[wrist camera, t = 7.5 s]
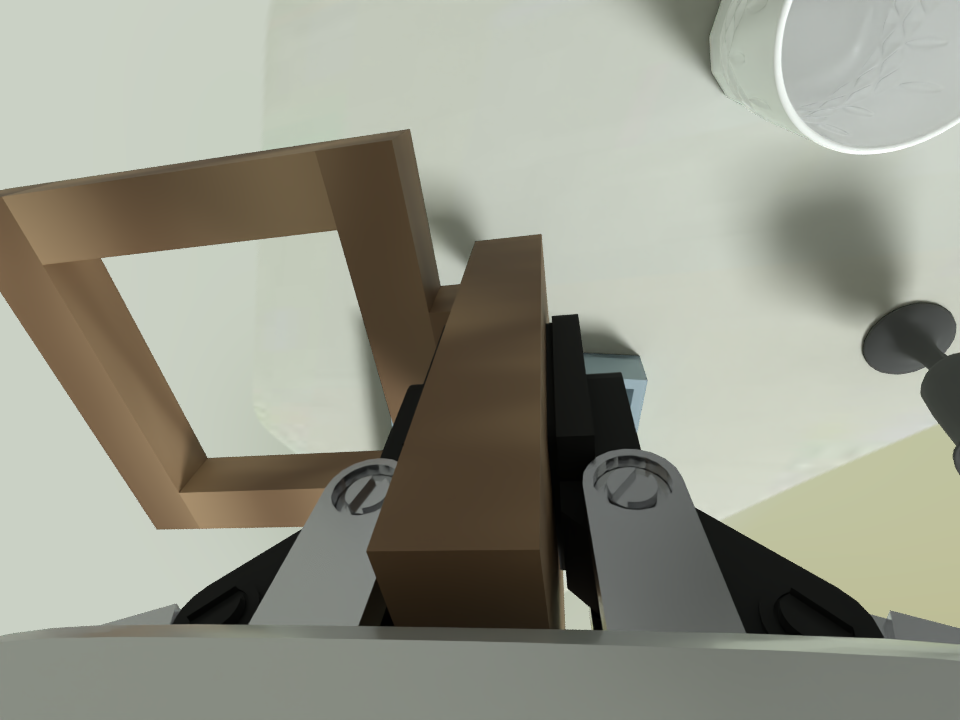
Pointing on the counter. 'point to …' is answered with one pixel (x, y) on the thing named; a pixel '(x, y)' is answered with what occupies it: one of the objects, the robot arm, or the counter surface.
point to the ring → (395, 346)
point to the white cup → (843, 68)
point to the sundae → (922, 359)
